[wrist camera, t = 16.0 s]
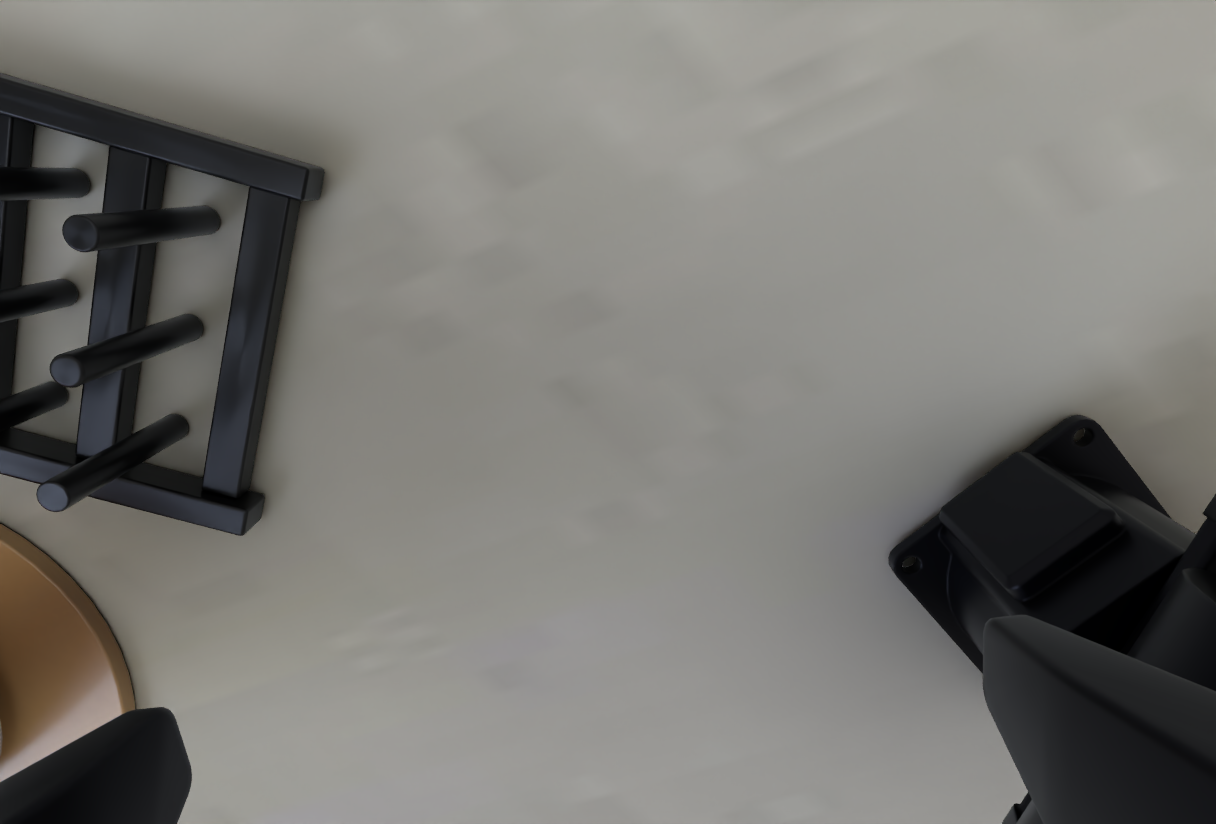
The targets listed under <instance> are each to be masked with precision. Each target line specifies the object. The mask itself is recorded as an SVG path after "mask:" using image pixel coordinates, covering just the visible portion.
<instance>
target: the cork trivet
mask: <svg viewBox="0 0 1216 824" xmlns="http://www.w3.org/2000/svg"><path fill="white" fill-rule="evenodd" d="M131 710H135V700H134V695H133V690H132V685H131V680H130V675H129V672H128V669H127V667H126V664H125V661H124V658H123V655H122V653H121V650H120V648H119V646H118V644H117V642H116V640H115V638H114V636H113V634H112V632H111V630H110V628H109V626H108V625H107V623H106V622H105V620H104V619H103V617H102V616H101V614H100V613H99V611H98V610H97V608H96V607H95V605H94V604H93V602H92V601H91V600H90V599H89V597H88V596H87V595H86V594H85V593H84V592H83V590H82V589H81V588H80V587H79V586H78V585H77V584H76V582H75V581H74V580H73V579H72V578H71V577H70V576H69V575H68V574H67V573H66V572H65V571H64V570H63V569H62V568H60V567H59V566H58V565H57V564H56V563H55V562H54V561H53V560H52V559H51V558H50V557H49V556H47V555H46V554H45V553H43V552H42V551H41V550H39V549H38V548H37V547H35V546H34V545H33V544H31V543H30V542H29V541H27V540H26V539H25V538H23V537H22V536H20V535H18V534H17V533H15V532H13V531H12V530H10V529H8V528H7V527H5V526H3V525H2V524H0V721H1V729H2V751H1V756H0V782H1V781H3V780H5V779H7V778H9V777H10V776H12V775H14V774H16V773H17V772H19V771H21V770H23V769H25V768H26V767H28V766H30V765H32V764H34V763H35V762H37V761H39V760H41V759H43V758H44V757H46V756H48V755H50V754H52V753H53V752H55V751H57V750H59V749H61V748H62V747H64V746H66V745H68V744H70V743H71V742H73V741H75V740H77V739H79V738H80V737H82V736H84V735H86V734H88V733H89V732H91V731H93V730H95V729H97V728H98V727H100V726H102V725H104V724H105V723H107V722H109V721H111V720H113V719H114V718H116V717H118V716H120V715H122V714H123V713H126V712H128V711H131Z"/></svg>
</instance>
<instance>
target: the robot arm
mask: <svg viewBox="0 0 1216 824" xmlns="http://www.w3.org/2000/svg"><path fill="white" fill-rule="evenodd" d="M1082 428H1084V430H1085V433H1084V436H1083V437H1082V438H1081V440H1079V441H1076V442H1074V440H1073V439H1074V435H1075V433H1076V432H1077V431H1078V430H1080V429H1082ZM1203 515H1205V516H1206V517H1207V519H1206V520H1205V522H1204V523H1203V525H1202V526H1201V528H1200V529H1199V531H1198V533H1197V534H1195V533H1193V532H1191V531H1190V530H1188V529H1186V528H1185V527H1183V526H1182V525H1180V524H1178V523H1177V522H1175V521H1173V520H1172V519H1171V518H1170V516H1169V515H1168V514H1167V512H1166V511H1165V510H1164V509H1163V507H1162V506H1161V505H1160V503H1159V502H1158V501H1157V499H1156V498H1155V497H1154V495H1153V494H1152V493H1151V491H1150V490H1149V489H1148V488H1147V486H1146V485H1145V484H1144V482H1143V481H1142V480H1141V478H1140V477H1139V476H1138V474H1137V473H1136V472H1135V471H1134V469H1133V468H1132V467H1131V465H1130V464H1129V463H1128V461H1127V460H1126V459H1125V457H1124V456H1123V455H1122V454H1121V452H1120V451H1119V450H1118V448H1117V447H1116V446H1115V444H1114V443H1113V442H1112V440H1111V439H1110V438H1109V436H1108V435H1107V434H1106V433H1105V431H1104V430H1103V429H1102V427H1101V426H1100V425H1099V424H1098V423H1097V422H1095V421H1094V420H1092V419H1090V418H1088V417H1086V416H1082V415H1074V416H1070V417H1068V418H1066V419H1064V420H1063V421H1062V422H1061V423H1059V424H1058V425H1057V426H1055V427H1054V428H1053V429H1051V430H1050V431H1049V432H1047V433H1046V434H1045V435H1043V436H1042V437H1041V438H1039V439H1038V440H1037V441H1035V442H1034V443H1033V444H1031V445H1030V446H1029V447H1027V448H1026V449H1025V450H1023V451H1022V452H1016V453H1014V454H1012V455H1011V456H1009V457H1008V458H1007V459H1005V460H1004V461H1003V462H1001V463H1000V464H999V465H998V466H996V467H995V468H994V469H992V470H991V471H990V472H988V473H987V474H986V475H984V476H983V477H982V478H980V479H979V480H978V481H976V482H975V483H974V484H972V485H971V486H970V487H968V488H967V489H966V490H964V491H963V492H962V493H960V494H959V495H958V496H956V497H955V498H954V499H952V500H951V501H950V502H948V503H947V504H946V505H944V506H943V507H942V509H941V512H940V514H938V515H937V516H936V517H934V518H933V519H932V520H930V521H929V522H928V523H926V524H925V525H924V526H922V527H921V528H920V529H918V530H917V531H916V532H914V533H913V534H912V535H910V536H909V537H908V538H906V539H905V540H904V541H902V542H901V543H900V544H898V545H897V546H896V547H895V548H894V549H893V550H892V551H891V553H890V555H889V565H890V567H891V569H892V570H893V572H894V573H895V575H896V576H897V577H898V578H899V580H900V581H901V582H902V583H903V584H904V585H905V586H906V587H907V589H908V590H909V591H910V592H911V593H912V594H913V595H914V596H915V598H916V599H917V600H918V601H919V602H920V603H921V604H922V605H923V607H924V608H925V609H926V610H927V611H928V612H929V613H930V615H931V616H932V617H933V618H934V619H935V620H936V621H937V622H938V624H939V625H940V626H941V627H942V628H943V629H944V630H945V631H946V633H947V634H948V635H949V636H950V637H951V638H952V639H953V641H954V642H955V643H956V644H957V645H958V646H959V647H960V648H961V650H962V651H963V652H964V653H965V654H966V655H967V656H968V657H969V659H970V660H971V661H972V662H973V663H974V664H975V665H976V667H977V668H978V669H979V670H980V671H981V672H982V673H983V690H984V696H985V700H986V703H987V706H988V708H989V711H990V713H991V715H992V717H993V719H994V721H995V723H996V725H997V727H998V729H999V731H1000V734H1001V736H1002V738H1003V740H1004V742H1005V744H1006V746H1007V748H1008V750H1009V752H1010V754H1011V757H1012V759H1013V761H1014V763H1015V765H1016V767H1017V769H1018V771H1019V773H1020V775H1021V778H1022V780H1023V782H1024V784H1025V786H1026V788H1027V790H1028V793H1027V795H1026V796H1025V798H1024V799H1023V801H1022V802H1021V804H1017V803H1016V804H1014V805H1013V806H1012V808H1011V810H1010V811H1009V813H1008V814H1007V816H1006V817H1005V819H1004V820H1003V822H1002V824H1216V494H1215V495H1214V497H1213V498H1212V500H1211V502H1210V503H1209V505H1208V506H1207V508H1206V509H1205V511H1204V512H1203ZM909 557H916V558H915V562H914V563H913V564H912V565H911V566H908V567H902V564H903V562H904V561H905V559H907V558H909ZM191 780H192V772H191V766H190V762H189V759H188V756H187V753H186V750H185V747H184V743H183V740H182V737H181V734H180V731H179V728H178V725H177V722H176V719H175V717H174V715H173V713H172V712H171V711H170V710H169V709H166V708H164V707H157V708H147V709H138V710H131V711H128V712H126V713H123V714H122V715H120V716H118V717H116V718H114V719H113V720H111V721H109V722H107V723H105V724H104V725H102V726H100V727H98V728H97V729H95V730H93V731H91V732H89V733H88V734H86V735H84V736H82V737H80V738H79V739H77V740H75V741H73V742H71V743H70V744H68V745H66V746H64V747H62V748H61V749H59V750H57V751H55V752H53V753H52V754H50V755H48V756H46V757H44V758H43V759H41V760H39V761H37V762H35V763H34V764H32V765H30V766H28V767H26V768H25V769H23V770H21V771H19V772H17V773H16V774H14V775H12V776H10V777H9V778H7V779H5V780H3V781H1V782H0V824H177V822H178V820H179V817H180V814H181V812H182V809H183V807H184V804H185V802H186V799H187V797H188V794H189V791H190V787H191Z"/></svg>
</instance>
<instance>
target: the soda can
mask: <svg viewBox="0 0 1216 824" xmlns="http://www.w3.org/2000/svg"><path fill="white" fill-rule="evenodd" d="M1 751H2V729H1V721H0V756H1Z"/></svg>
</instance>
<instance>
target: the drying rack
mask: <svg viewBox="0 0 1216 824" xmlns="http://www.w3.org/2000/svg"><path fill="white" fill-rule="evenodd" d="M34 124H37V125H40V126H44V127H47V128H51V129H54V130H58V131H61V132H64V133H68V134H71V135H75V136H78V137H82V138H85V139H88V140H92V141H95V142H99V143H102V144H106V145H109V146H110V147H109V156H108V165H107V174H106V183H105V192H104V201H103V210H102V213H93V214H79V215H73V216H71V217H69V218H68V219H67V220H66V221H65V222H64V224H63V229H62V231H63V236H64V239H65V241H66V242H67V243H68V245H69V246H71V247H72V248H73V249H75V250H77V251H80V252H91V251H98V254H97V263H96V272H95V281H94V290H93V299H92V308H91V317H90V326H89V335H88V344H87V346H84V347H81V348H78V349H75V350H72V351H69V352H66V353H62V354H59V355H57V356H56V357H55V358H54V359H53V360H52V362H51V364H50V373H51V376H52V377H53V379H54V380H55V381H56V382H47V383H44V384H41V385H38V386H36V387H33V388H30V389H28V390H25V391H22V392H19V393H17V394H14V395H11V384H12V372H13V360H14V349H15V337H16V325H17V318H21V317H26V316H30V315H34V314H38V313H42V312H46V311H51V310H55V309H59V308H63V307H67V306H71V305H73V304H74V303H75V302H76V300H77V298H78V291H77V289H76V287H75V286H74V284H72V283H71V282H70V281H67V280H65V279H57V280H51V281H46V282H41V283H35V284H30V285H24V286H20V279H21V267H22V255H23V244H24V232H25V220H26V208H27V200H32V199H58V198H80V197H83V196H85V195H86V194H87V193H88V191H89V188H90V183H89V179H88V177H87V176H86V175H85V174H84V173H83V172H82V171H80V170H78V169H75V168H37V167H30V162H31V150H32V138H33V127H34ZM166 163H171V164H174V165H178V166H181V167H184V168H188V169H191V170H195V171H198V172H202V173H205V174H208V175H212V176H215V177H219V178H222V179H226V180H229V181H232V182H236V183H239V184H243V185H246V186H250V187H249V193H248V199H247V206H246V212H245V218H244V224H243V231H242V237H241V243H240V249H239V256H238V262H237V268H236V274H235V281H234V287H233V293H232V299H231V306H230V312H229V318H228V325H227V331H226V337H225V343H224V350H223V356H222V362H221V368H220V375H219V381H218V387H217V393H216V400H215V406H214V412H213V418H212V425H211V431H210V437H209V443H208V450H207V456H206V462H205V468H204V475H203V478H199V477H196V476H192V475H188V474H184V473H180V472H177V471H173V470H169V469H165V468H161V467H158V466H154V465H150V464H146V463H142V462H144V461H146V460H147V459H149V458H151V457H152V456H154V455H156V454H157V453H159V452H161V451H162V450H164V449H165V448H167V447H169V446H170V445H172V444H174V443H175V442H177V441H179V440H180V439H182V438H183V437H185V436H186V435H187V433H188V429H189V427H188V423H187V421H186V420H185V419H184V418H183V417H181V416H180V415H176V414H170V415H168V416H166V417H164V418H162V419H160V420H158V421H156V422H155V423H153V424H151V425H149V426H147V427H145V428H143V429H142V430H140V431H138V432H136V433H134V434H132V435H131V431H132V423H133V415H134V408H135V400H136V393H137V385H138V377H139V370H140V362H141V361H144V360H146V359H149V358H151V357H154V356H156V355H159V354H161V353H164V352H167V351H169V350H172V349H174V348H177V347H179V346H182V345H184V344H187V343H189V342H192V341H195V340H197V339H198V338H200V336H201V335H202V332H203V325H202V323H201V321H200V320H199V319H198V318H197V317H195V316H194V315H191V314H184V315H181V316H177V317H174V318H171V319H168V320H165V321H162V322H159V323H156V324H153V325H149V326H146V327H145V324H146V316H147V309H148V301H149V293H150V286H151V278H152V270H153V263H154V255H155V247H156V242H161V241H168V240H175V239H182V238H189V237H196V236H203V235H210V234H213V233H215V232H216V231H217V230H218V228H219V225H220V219H219V216H218V214H217V213H216V212H215V210H213V209H212V208H210V207H208V206H193V207H179V208H165V209H161V202H162V194H163V186H164V179H165V171H166ZM324 173H325V172H324V169H323V168H321V167H318V166H314V165H311V164H308V163H304V162H301V161H298V160H294V159H291V158H287V157H284V156H281V155H277V154H274V153H270V152H267V151H264V150H260V149H257V148H254V147H250V146H247V145H243V144H240V143H237V142H233V141H230V140H226V139H223V138H220V137H216V136H213V135H210V134H206V133H203V132H199V131H196V130H193V129H189V128H186V127H182V126H179V125H176V124H172V123H169V122H166V121H162V120H159V119H155V118H152V117H149V116H145V115H142V114H138V113H135V112H132V111H128V110H125V109H121V108H118V107H115V106H111V105H108V104H105V103H101V102H98V101H94V100H91V99H88V98H84V97H81V96H77V95H74V94H71V93H67V92H64V91H61V90H57V89H54V88H50V87H47V86H44V85H40V84H37V83H33V82H30V81H27V80H23V79H20V78H17V77H13V76H10V75H6V74H3V73H0V474H3V475H7V476H11V477H15V478H18V479H22V480H26V481H30V482H34V483H38V484H41V485H40V486H39V487H38V489H37V493H36V495H37V499H38V501H39V503H40V504H41V506H43V507H44V508H45V509H47V510H49V511H53V512H60V511H64V510H65V509H67V508H69V507H70V506H72V505H74V504H75V503H77V502H79V501H80V500H82V499H83V498H85V497H87V496H88V497H92V498H96V499H100V500H104V501H108V502H111V503H115V504H119V505H123V506H127V507H131V508H135V509H139V510H142V511H146V512H150V513H154V514H158V515H162V516H166V517H170V518H173V519H177V520H181V521H185V522H189V523H193V524H197V525H201V526H204V527H208V528H212V529H216V530H220V531H224V532H228V533H231V534H235V535H239V536H243V535H244V534H245V533H246V532H247V531H249V530H250V529H251V528H252V527H253V526H254V525H255V524H256V523H257V522H258V521H259V520H260V518H261V515H262V510H263V504H264V499H265V496H264V495H263V494H260V493H257V492H253V491H249V490H248V489H249V488H250V483H251V477H252V472H253V466H254V460H255V455H256V449H257V444H258V438H259V432H260V427H261V421H262V415H263V410H264V404H265V399H266V393H267V387H268V382H269V376H270V370H271V365H272V359H273V354H274V348H275V342H276V337H277V331H278V325H279V320H280V314H281V308H282V303H283V297H284V292H285V286H286V280H287V275H288V269H289V263H290V258H291V252H292V247H293V241H294V235H295V230H296V224H297V218H298V213H299V207H300V202H301V201H311V200H319V198H320V195H321V189H322V184H323V178H324ZM80 385H83V389H82V398H81V407H80V416H79V425H78V434H77V443H76V445H74V444H70V443H66V442H62V441H59V440H55V439H51V438H47V437H43V436H40V435H36V434H32V433H28V432H24V431H21V430H17V429H13V428H10V427H13V426H15V425H18V424H20V423H22V422H25V421H27V420H30V419H32V418H34V417H37V416H39V415H42V414H44V413H46V412H49V411H51V410H54V409H56V408H58V407H61V406H63V405H64V404H65V403H66V401H67V399H68V394H67V391H66V389H65V388H64V387H63V386H65V387H70V388H73V387H77V386H80ZM10 395H11V396H10Z"/></svg>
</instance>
